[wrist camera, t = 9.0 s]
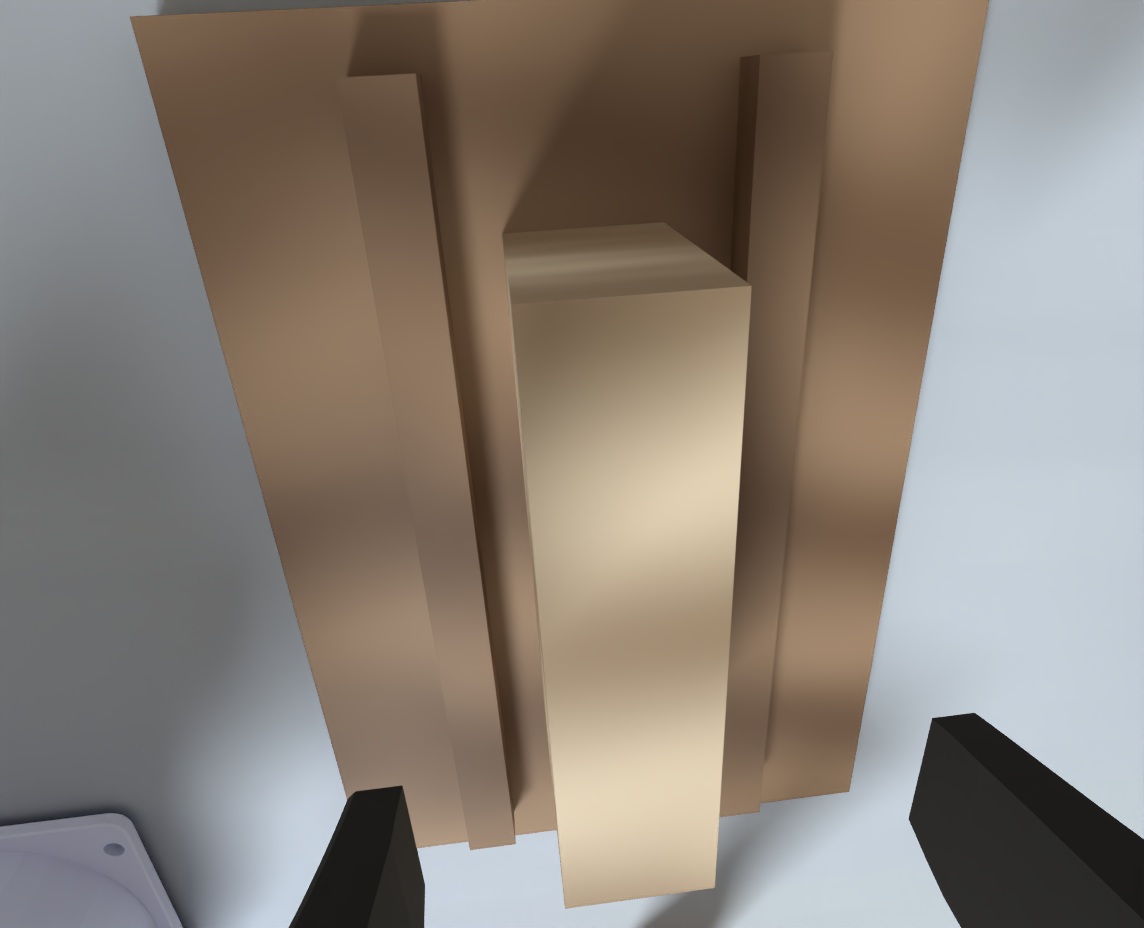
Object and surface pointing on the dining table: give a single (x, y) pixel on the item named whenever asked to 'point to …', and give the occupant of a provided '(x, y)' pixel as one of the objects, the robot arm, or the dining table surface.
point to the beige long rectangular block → (631, 539)
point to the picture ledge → (484, 347)
